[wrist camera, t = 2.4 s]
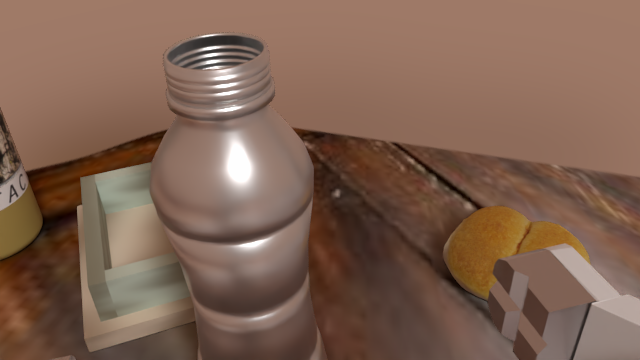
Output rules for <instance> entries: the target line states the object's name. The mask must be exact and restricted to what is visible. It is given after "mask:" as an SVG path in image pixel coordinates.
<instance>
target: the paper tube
mask: <svg viewBox="0 0 640 360" xmlns="http://www.w3.org/2000/svg"><path fill="white" fill-rule="evenodd" d="M42 223H43V218H42V214H41V211H40V209H39V206H38V204H37V201H36V199H35V196H34V193H33V191H32V188H31V186H30V183H29V181H28V177H27V175H26V172H25V169H24V167H23V165H22V162H21V159H20V157H19V154H18V152H17V149H16V146H15V144H14V142H13V139H12V136H11V134H10V131H9V129H8V126H7V123H6V121H5V118H4V116H3V113H2V111H1V108H0V260H2V259H5V258H7V257H10V256H12V255H14V254H16V253H18V252H19V251H21V250H22V249H24V248H25V247H27V246H28V245H29V244H30V243H31V242H32V241H33V240H34V239H35V238H36V237H37V236H38V234H39V232H40V230H41V227H42Z"/></svg>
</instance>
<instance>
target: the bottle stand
mask: <svg viewBox="0 0 640 360" xmlns="http://www.w3.org/2000/svg"><path fill="white" fill-rule="evenodd" d="M151 164H152V162H150V163H146V164H141V165H137V166H132V167H128V168H123V169H119V170H114V171H109V172H105V173H100V174H96V175H91V176H87V177H82V178H81V193H82V205H80V206H77V215H78V233H79V251H80V270H81V288H82V306H83V324H84V340H85V342H86V345H87V347H88V350H89V352H93V351H97V350H100V349H103V348H107V347H110V346H113V345H117V344H120V343H124V342H127V341H130V340H134V339H137V338H140V337H144V336H147V335H150V334H154V333H157V332H160V331H164V330H167V329H170V328H174V327H177V326H180V325H184V324H187V323H191V322H194V321H196V319H195V311H194V305H193V302H192V299H191V296H190V292H189V289H188V286H187V283H186V280H185V277H184V274H183V271H182V267H181V265H180V262H179V260H178V258H177V256H176V254H175V252H174V249H173V247H172V245H171V243H170V241H169V239H168V237H167V234H166V232H165V230H164V228H163V226H162V224H161V221H160V219H159V217H158V215H157V212H156V209H155V206H154V203H153V201H152V198H151V195H150V192H149V188H150V175H151ZM308 273H309V272H308ZM309 287H310V279H309Z"/></svg>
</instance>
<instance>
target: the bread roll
mask: <svg viewBox="0 0 640 360" xmlns="http://www.w3.org/2000/svg"><path fill="white" fill-rule="evenodd" d="M564 243H565V244H568V245H570V246H572V247H573V248H574V249H575V250H576V251H577V252H578V253H579V254H580V255H581V256H582V257H583V258H584V259H585V260H586V261H587V262H588V263H589V264H590V260H589V256H588V253H587V251H586V250H585V248H584V246H583V245H582V244H581V243H580V242H579V240H578V239H577V238H576V237H574V236H573V235H572V234H571V233H570V232H569V231H567V230H566V229H564V228H563V227H561V226H560V225H558V224H554V223H551V222H545V221H537V222H530V221H529V220H528V219H527V218H526V217H525V216H523V215H522V214H521V213H519V212H517V211H515V210H513V209H510V208H508V207H505V206H491V207H486V208H482V209H479V210H478V211H476V212H474V213H472V214H471V215H470V216H469V217H468V218H466V219H463V222H462V223H460V225H459V226H458V227H457V228H456V230H455V231H454V232H453V233H452V234H451V235H450V237H449V239H448V241H447V242H446V244H445V246H444V250H443V259H444V261H445V263H446V265H447V267H448V269H449V271H450V272H451V274H452V276H453V277H454V278H455V280H456V281H457V282H458V284H459V285H460V286H461V287H462V288H464V289H465V290H466V291H468V292H470V293H472V294H473V295H475V296H477V297H479V298H482V299H484V300H486V301H488V296H489V290H490V288H491V287H492V286H493V285H494V284H495V283H496V281H497V279H496V278H495V276H494V275H493V274H492V273H493V268H494V264H495V263H496V261H497V260H498V259H500V258H504V257H508V256H512V255H517V254H521V253H525V252H529V251H533V250H538V249H543V248H547V247H551V246H555V245H560V244H564ZM590 265H591V264H590Z"/></svg>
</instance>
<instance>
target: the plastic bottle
mask: <svg viewBox="0 0 640 360" xmlns="http://www.w3.org/2000/svg"><path fill="white" fill-rule="evenodd" d="M163 59H164V60H163V66H164V71H165V76H166V82H167V89H166V98H167V103H168V106H169V108H170V110H171V111H172V112H174V113H175V114H177V117H176V118H175V120H174V121H173V123H172V125H171V126H170V128H169V129H168V131H167V132H166V134H165V135H164V137H163V140H162V142H161V144H160V146H159V148H158V150H157V152H156V154H155V156H154V159H153V161H152V164H151V175H150V188H149V192H150V195H151V198H152V201H153V203H154V206H155V209H156V212H157V215H158V217H159V219H160V221H161V224H162V226H163V228H164V230H165V232H166V234H167V237H168V239H169V241H170V243H171V245H172V247H173V249H174V252H175V254H176V256H177V258H178V260H179V262H180V265H181V267H182V271H183V274H184V277H185V280H186V283H187V286H188V289H189V292H190V296H191V299H192V302H193V305H194V311H195V319H196V327H197V335H198V343H199V347H198V360H328V359H327V355H326V352H325V348H324V344H323V340H322V337H321V334H320V331H319V329H318V326H317V324H316V321H315V316H314V311H313V306H312V301H311V296H310V291H309V273H308V239H309V230H310V221H311V211H312V202H313V194H314V167H313V164H312V161H311V159H310V156H309V154H308V152H307V149H306V147H305V145H304V142H303V141H302V140H301V139H300V138H299V136H298V135H297V134H296V133H295V131H294V130H293V129H292V128H291V127H290V125H289V124H288V123H287V122H286V120H285V119H284V118H282V117H281V116H280V115H279V114H278V113H277V112H276V111H275V110H274V109H273V108H272V107H271V106H270V105H269V103H270V102H271V101H272V99H273V98H274V95H275V85H274V80H273V77H272V76H271V69H270V55H269V50H268V46H267V43H266V42H265V41H264V40H263V39H261V38H259V37H256V36H254V35H250V34H244V33H234V32H225V33H224V32H222V33H210V34H205V35H198V36H195V37H190V38H187V39H185V40H181V41H180V42H177V43H175V44H173V45H172V46H170V47H169V48H168V49H167V50H166V51H165V52H164V54H163Z"/></svg>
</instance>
